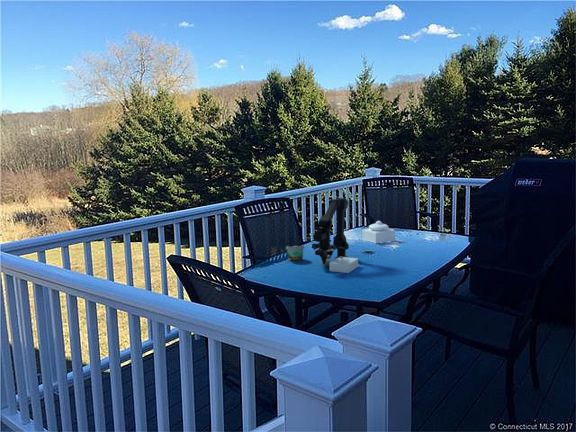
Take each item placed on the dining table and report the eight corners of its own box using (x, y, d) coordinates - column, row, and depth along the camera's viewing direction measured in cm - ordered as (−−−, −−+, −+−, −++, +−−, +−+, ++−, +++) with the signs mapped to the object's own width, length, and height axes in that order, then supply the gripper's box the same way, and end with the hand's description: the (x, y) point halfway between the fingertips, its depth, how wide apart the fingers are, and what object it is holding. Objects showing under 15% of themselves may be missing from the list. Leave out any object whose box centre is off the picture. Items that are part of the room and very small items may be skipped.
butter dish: (362, 240, 364) (362, 220, 361) (381, 237, 371) (381, 217, 369) (375, 244, 348) (375, 223, 345) (395, 241, 355) (395, 220, 353)
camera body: (340, 264, 294) (340, 255, 294) (358, 266, 289) (358, 257, 288) (329, 271, 281) (329, 261, 280) (348, 273, 275) (348, 263, 274)
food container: (288, 262, 303) (288, 247, 301) (286, 260, 309) (285, 245, 307) (307, 261, 306) (306, 246, 305) (304, 258, 312) (303, 244, 311)
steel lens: (324, 264, 296) (323, 253, 295) (331, 265, 294) (331, 254, 293) (320, 266, 292) (320, 255, 291) (328, 267, 289) (327, 256, 288)
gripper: (320, 235, 302) (320, 258, 305) (306, 240, 286) (307, 265, 289) (336, 236, 297) (336, 260, 299) (323, 242, 281) (324, 267, 283)
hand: (325, 263), depth 293 cm, fingers closed on steel lens, 5 cm apart
